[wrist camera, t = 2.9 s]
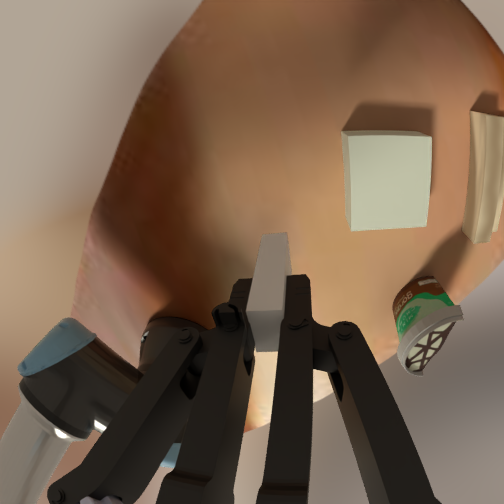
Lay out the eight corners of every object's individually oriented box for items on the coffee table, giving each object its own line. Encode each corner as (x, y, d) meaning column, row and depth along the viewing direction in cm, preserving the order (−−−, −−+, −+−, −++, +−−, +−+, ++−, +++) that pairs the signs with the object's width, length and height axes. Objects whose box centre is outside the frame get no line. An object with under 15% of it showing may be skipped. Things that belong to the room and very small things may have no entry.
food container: (402, 263, 33) (427, 315, 25) (437, 267, 33) (466, 316, 24) (373, 327, 40) (385, 379, 31) (406, 329, 39) (421, 378, 31)
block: (344, 215, 32) (351, 231, 28) (340, 130, 26) (347, 135, 23) (413, 211, 30) (426, 226, 26) (416, 130, 25) (431, 136, 21)
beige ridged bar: (461, 230, 29) (473, 243, 26) (469, 110, 21) (486, 114, 18) (493, 228, 28) (506, 240, 25) (504, 117, 20) (520, 121, 17)
